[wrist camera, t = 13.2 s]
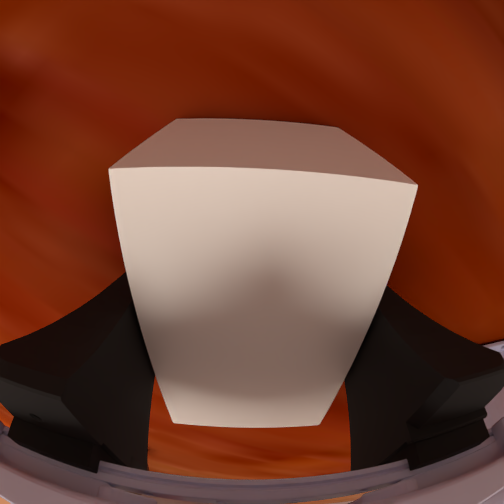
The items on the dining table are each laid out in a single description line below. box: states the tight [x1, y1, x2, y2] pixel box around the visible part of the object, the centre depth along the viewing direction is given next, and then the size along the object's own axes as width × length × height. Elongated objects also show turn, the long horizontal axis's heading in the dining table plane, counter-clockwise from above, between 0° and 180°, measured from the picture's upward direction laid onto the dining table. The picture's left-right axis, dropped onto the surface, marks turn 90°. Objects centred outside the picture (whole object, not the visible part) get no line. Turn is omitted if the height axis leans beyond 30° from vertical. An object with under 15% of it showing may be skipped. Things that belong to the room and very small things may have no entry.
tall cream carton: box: [109, 118, 418, 428], centre depth 10 cm, size 6×10×6 cm, turn 177°
